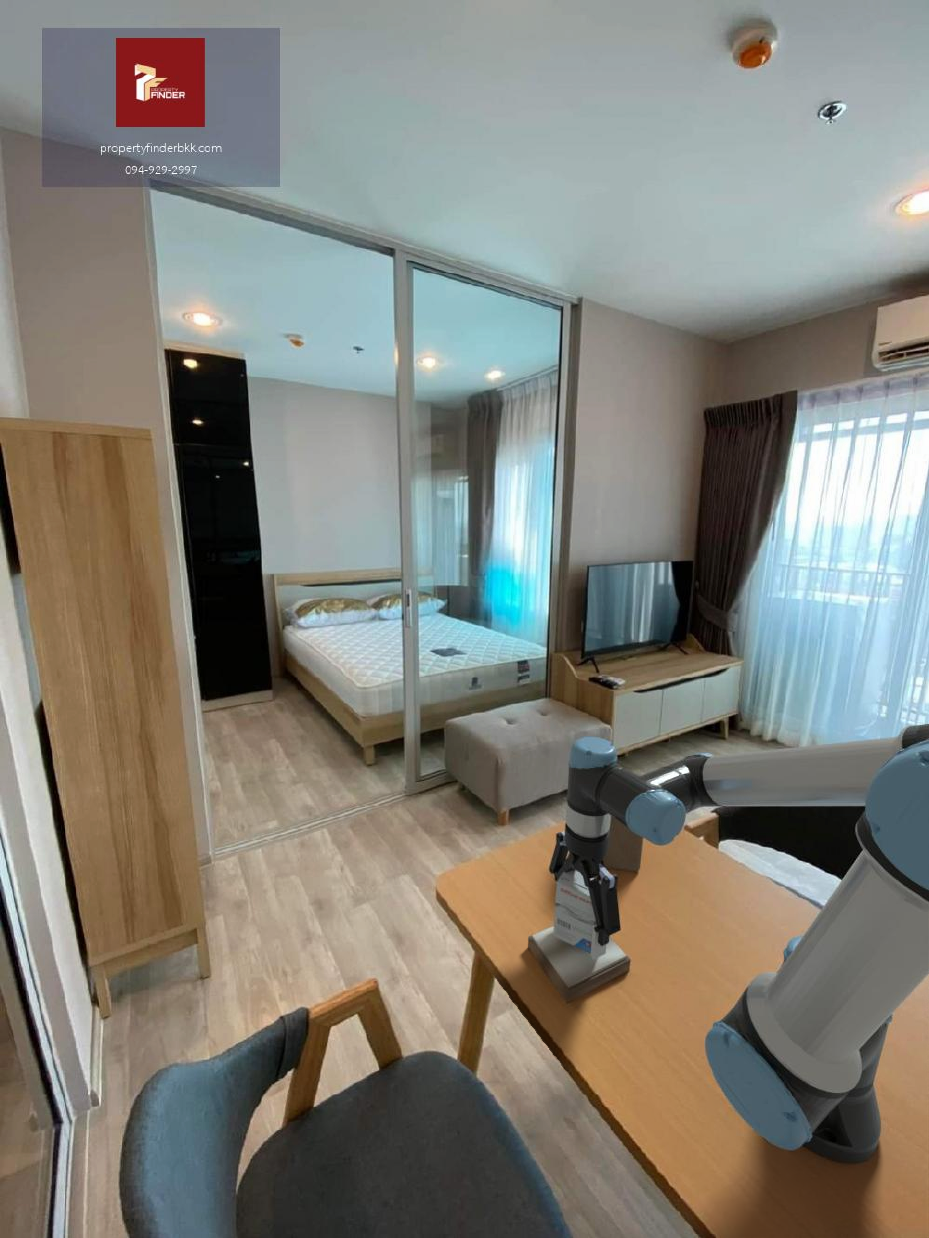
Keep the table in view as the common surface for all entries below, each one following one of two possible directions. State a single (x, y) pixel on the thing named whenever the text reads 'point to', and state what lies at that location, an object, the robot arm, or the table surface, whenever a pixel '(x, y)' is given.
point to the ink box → (573, 911)
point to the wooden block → (623, 847)
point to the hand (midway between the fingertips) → (579, 932)
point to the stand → (576, 964)
